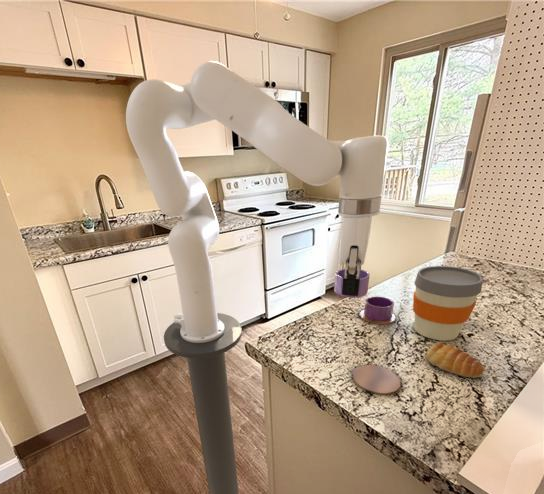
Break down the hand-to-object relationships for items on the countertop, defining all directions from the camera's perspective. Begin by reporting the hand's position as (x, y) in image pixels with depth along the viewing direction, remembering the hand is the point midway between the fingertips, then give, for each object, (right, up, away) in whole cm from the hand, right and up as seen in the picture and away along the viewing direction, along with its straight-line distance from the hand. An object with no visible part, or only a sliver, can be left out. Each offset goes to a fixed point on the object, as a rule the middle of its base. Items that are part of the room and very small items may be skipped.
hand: (350, 287), depth 69 cm
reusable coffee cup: (+25, -11, +9) cm, 29 cm away
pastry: (+20, -17, -3) cm, 26 cm away
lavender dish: (0, -1, 0) cm, 1 cm away
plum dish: (+15, -7, +17) cm, 24 cm away
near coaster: (+3, -19, -5) cm, 20 cm away
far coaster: (+15, -7, +17) cm, 24 cm away
